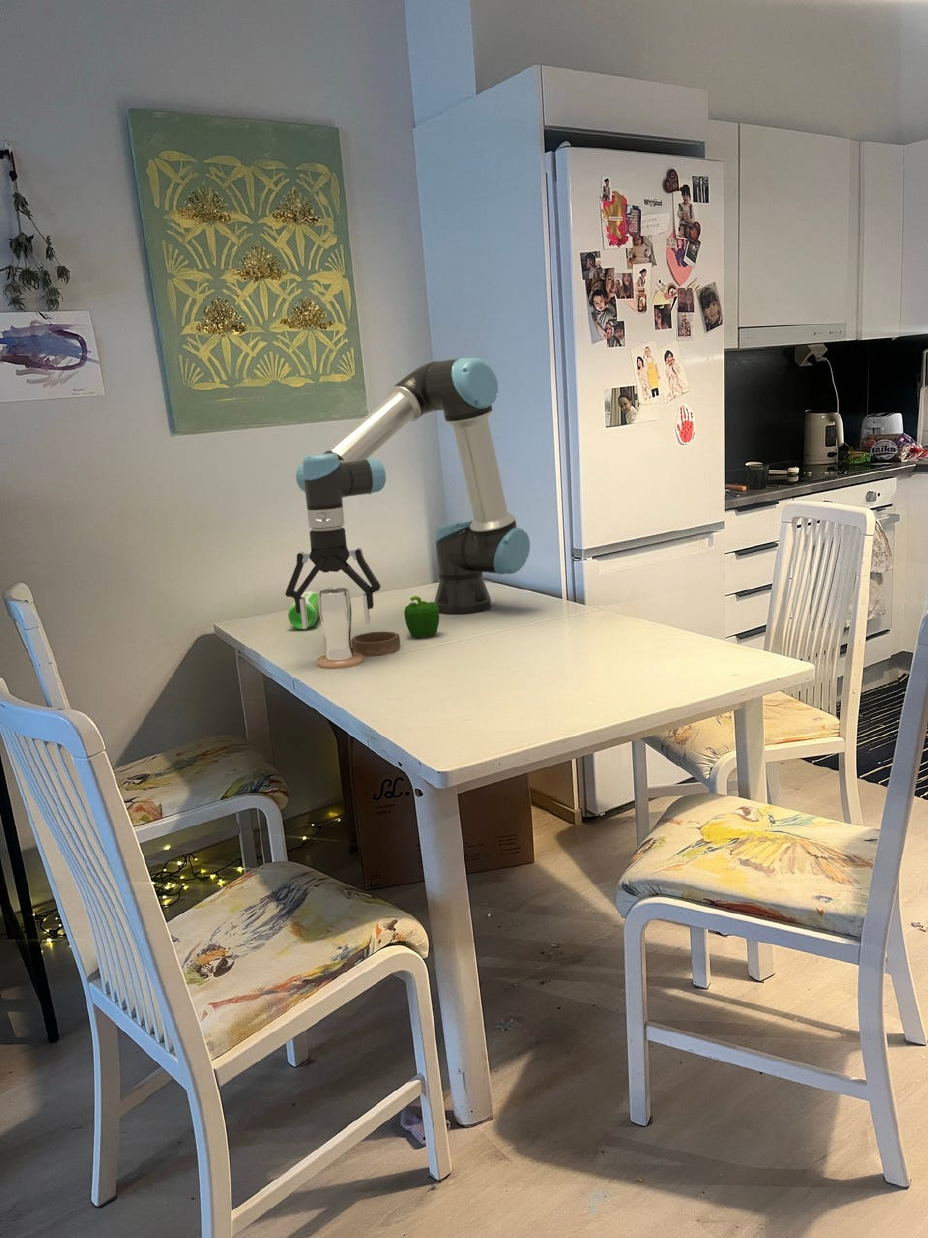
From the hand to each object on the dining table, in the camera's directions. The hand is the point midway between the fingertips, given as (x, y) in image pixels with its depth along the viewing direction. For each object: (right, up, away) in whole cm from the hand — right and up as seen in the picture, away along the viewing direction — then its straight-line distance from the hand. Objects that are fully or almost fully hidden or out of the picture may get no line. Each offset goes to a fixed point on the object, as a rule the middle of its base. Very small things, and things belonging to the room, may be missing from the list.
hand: (336, 625), depth 207 cm
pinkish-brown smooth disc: (+1, -8, +2) cm, 8 cm away
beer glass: (0, -7, +2) cm, 7 cm away
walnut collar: (+8, -6, +10) cm, 14 cm away
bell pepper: (+18, -3, +21) cm, 28 cm away
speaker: (-13, 0, +44) cm, 46 cm away
